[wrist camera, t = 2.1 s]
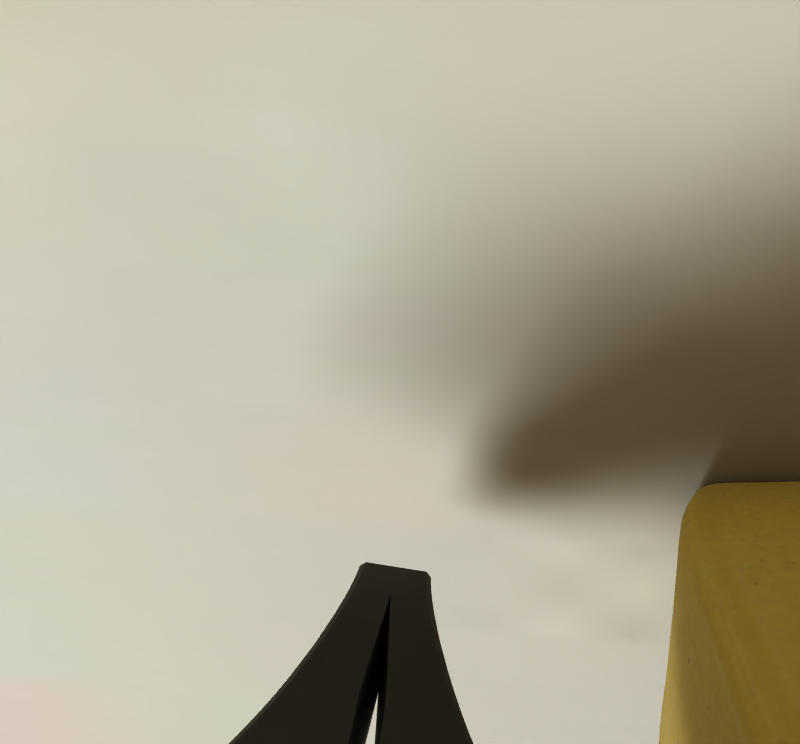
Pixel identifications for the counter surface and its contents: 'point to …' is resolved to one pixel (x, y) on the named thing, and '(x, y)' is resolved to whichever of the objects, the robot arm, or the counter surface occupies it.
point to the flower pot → (736, 618)
